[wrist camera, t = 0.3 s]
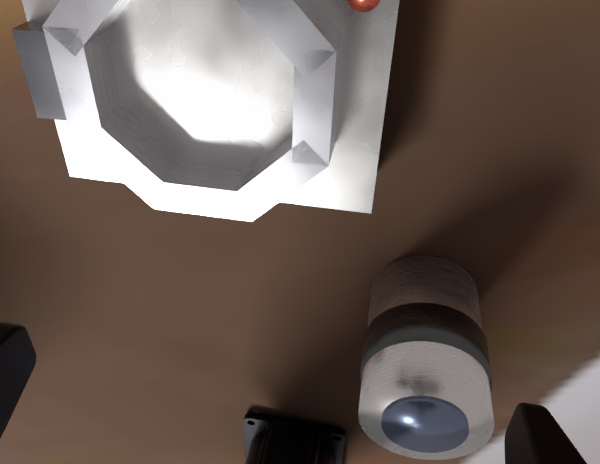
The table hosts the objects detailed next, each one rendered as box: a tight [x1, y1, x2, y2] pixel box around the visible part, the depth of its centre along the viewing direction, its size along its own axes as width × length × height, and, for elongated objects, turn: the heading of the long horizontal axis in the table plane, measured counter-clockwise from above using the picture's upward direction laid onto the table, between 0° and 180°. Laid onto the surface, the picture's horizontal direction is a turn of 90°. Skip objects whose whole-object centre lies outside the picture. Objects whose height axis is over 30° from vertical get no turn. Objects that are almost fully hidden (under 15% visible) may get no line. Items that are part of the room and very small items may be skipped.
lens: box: [358, 255, 494, 460], centre depth 23 cm, size 5×5×7 cm
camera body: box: [12, 0, 400, 222], centre depth 18 cm, size 9×12×4 cm
